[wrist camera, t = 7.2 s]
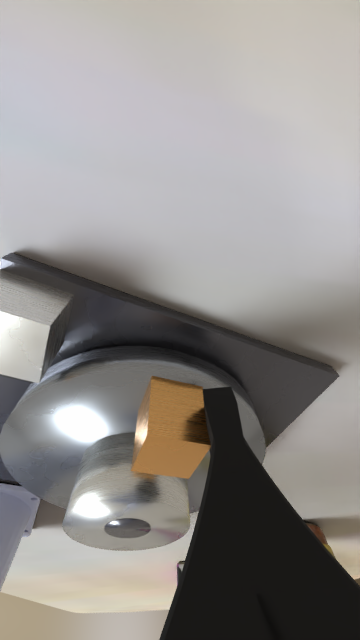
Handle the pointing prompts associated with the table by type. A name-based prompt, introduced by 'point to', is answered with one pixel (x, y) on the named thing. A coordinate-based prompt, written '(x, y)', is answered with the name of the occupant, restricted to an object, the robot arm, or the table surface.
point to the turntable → (119, 418)
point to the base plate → (135, 341)
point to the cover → (124, 501)
